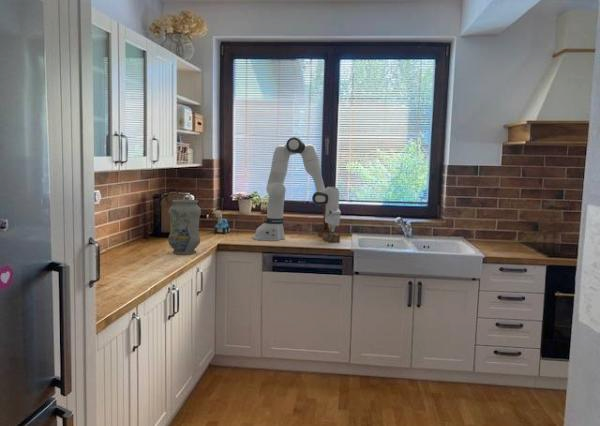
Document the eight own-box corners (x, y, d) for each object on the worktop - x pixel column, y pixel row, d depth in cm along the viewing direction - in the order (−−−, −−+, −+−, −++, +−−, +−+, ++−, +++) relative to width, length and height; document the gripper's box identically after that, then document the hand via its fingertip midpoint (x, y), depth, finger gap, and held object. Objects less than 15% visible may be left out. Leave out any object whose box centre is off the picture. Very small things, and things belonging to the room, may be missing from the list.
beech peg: (330, 237, 335) (330, 222, 334) (328, 236, 338) (329, 221, 337) (334, 237, 336) (335, 222, 335) (333, 236, 339) (333, 221, 338)
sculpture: (316, 235, 360) (318, 194, 357) (327, 235, 364) (329, 194, 361) (324, 238, 348) (326, 195, 345) (336, 237, 352) (337, 195, 349)
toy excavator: (210, 234, 350) (210, 210, 348) (219, 231, 366) (219, 208, 364) (222, 235, 348) (222, 211, 346) (230, 232, 364) (230, 208, 362)
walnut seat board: (327, 242, 331) (327, 235, 331) (322, 240, 341) (322, 232, 340) (339, 242, 334) (340, 235, 333) (334, 239, 343) (335, 232, 343)
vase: (174, 249, 291) (174, 198, 288) (204, 250, 289) (205, 199, 286) (163, 254, 273) (163, 200, 270) (195, 256, 271) (195, 201, 268)
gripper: (323, 209, 344) (322, 228, 346) (332, 212, 325) (332, 233, 326) (331, 209, 346) (330, 228, 347) (341, 212, 326) (341, 233, 328)
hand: (331, 230), depth 337 cm, fingers closed on beech peg, 3 cm apart
